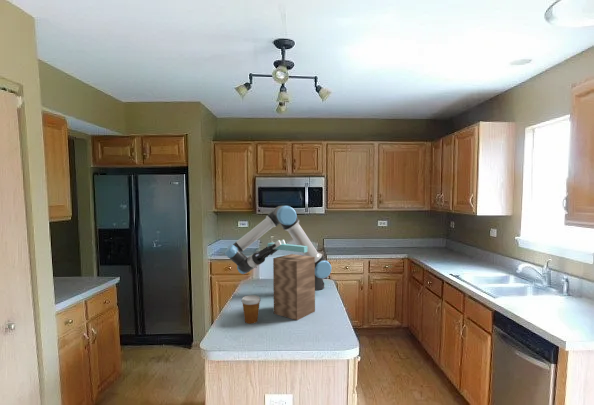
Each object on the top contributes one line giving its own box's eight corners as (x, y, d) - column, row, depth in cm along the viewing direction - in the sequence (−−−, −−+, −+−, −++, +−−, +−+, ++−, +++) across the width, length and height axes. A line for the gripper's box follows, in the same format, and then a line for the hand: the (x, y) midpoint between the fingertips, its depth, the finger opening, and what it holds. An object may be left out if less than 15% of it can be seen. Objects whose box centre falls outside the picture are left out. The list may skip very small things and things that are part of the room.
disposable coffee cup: (245, 326, 156) (245, 301, 156) (239, 320, 165) (239, 296, 165) (263, 322, 161) (263, 298, 161) (256, 316, 169) (256, 294, 169)
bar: (267, 248, 185) (267, 243, 185) (271, 247, 187) (271, 242, 187) (304, 252, 169) (304, 246, 169) (307, 251, 171) (307, 246, 171)
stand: (273, 313, 174) (273, 258, 173) (292, 305, 186) (291, 254, 186) (297, 320, 164) (296, 261, 164) (315, 311, 177) (314, 256, 176)
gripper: (268, 262, 198) (293, 246, 185) (249, 267, 185) (275, 249, 172) (263, 251, 200) (288, 234, 187) (244, 255, 187) (269, 237, 175)
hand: (282, 241), depth 180 cm, fingers closed on bar, 3 cm apart
